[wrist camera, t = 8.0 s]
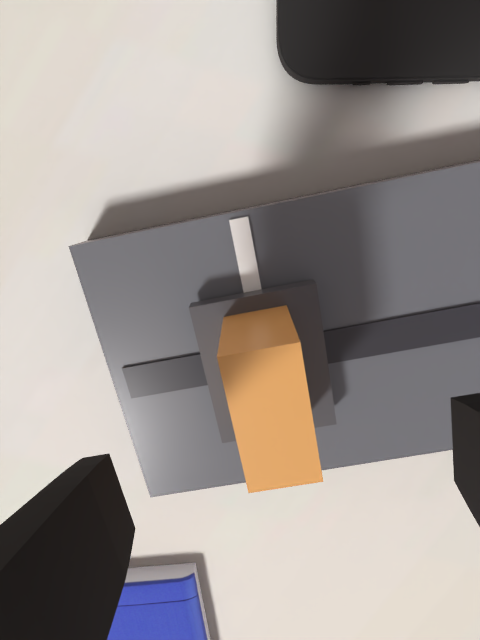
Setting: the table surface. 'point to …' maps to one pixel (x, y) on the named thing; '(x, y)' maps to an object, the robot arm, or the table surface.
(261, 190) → the table surface
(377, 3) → the phone
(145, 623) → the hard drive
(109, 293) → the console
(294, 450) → the fader
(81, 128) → the table surface
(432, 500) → the table surface
